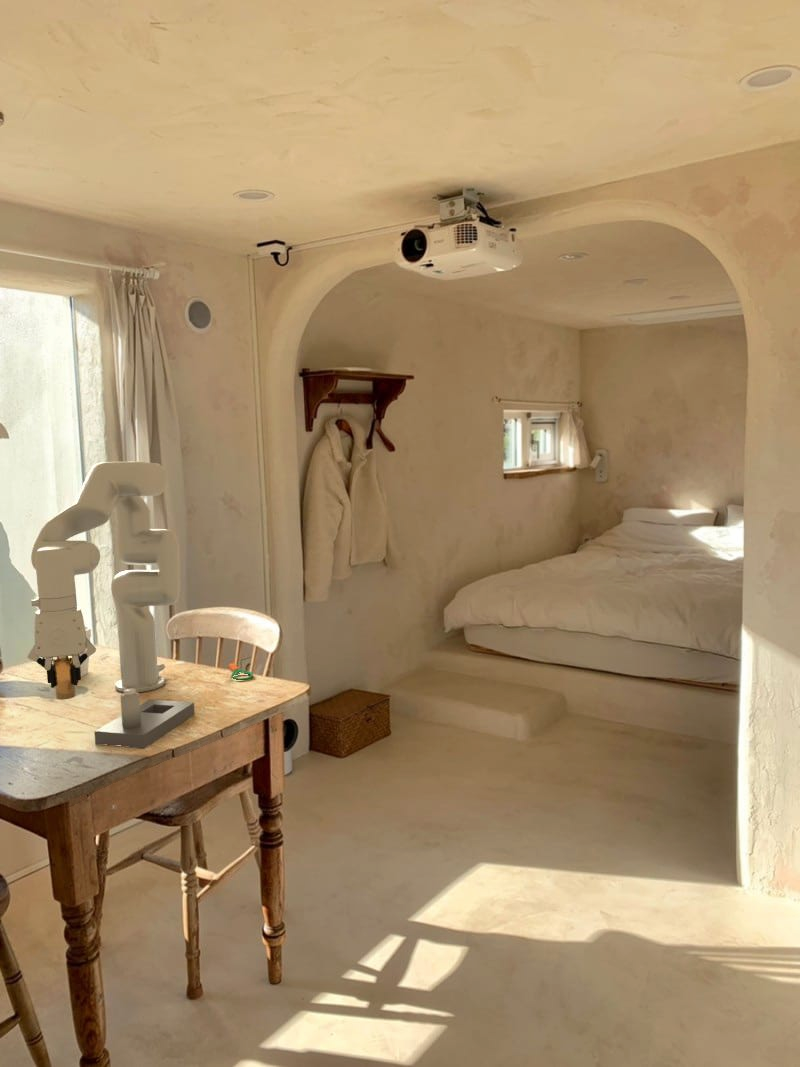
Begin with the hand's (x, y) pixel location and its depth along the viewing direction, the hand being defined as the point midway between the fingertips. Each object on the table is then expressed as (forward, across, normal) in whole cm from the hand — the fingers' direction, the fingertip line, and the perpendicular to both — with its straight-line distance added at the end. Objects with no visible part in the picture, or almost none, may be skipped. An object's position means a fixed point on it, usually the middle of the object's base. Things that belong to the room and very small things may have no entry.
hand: (64, 683), depth 179 cm
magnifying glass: (+15, +40, +40) cm, 58 cm away
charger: (+13, +16, +2) cm, 21 cm away
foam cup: (+15, -4, +56) cm, 58 cm away
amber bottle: (+3, 0, 0) cm, 3 cm away
